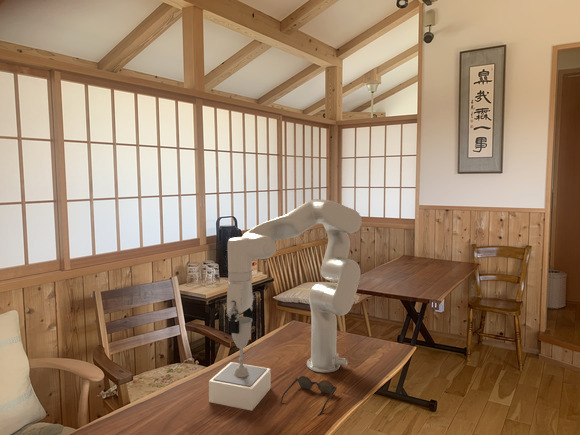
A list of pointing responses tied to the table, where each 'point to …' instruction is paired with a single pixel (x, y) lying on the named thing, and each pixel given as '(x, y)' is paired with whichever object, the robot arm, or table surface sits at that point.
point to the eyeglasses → (306, 383)
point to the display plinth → (240, 387)
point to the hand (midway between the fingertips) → (241, 327)
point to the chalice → (242, 343)
